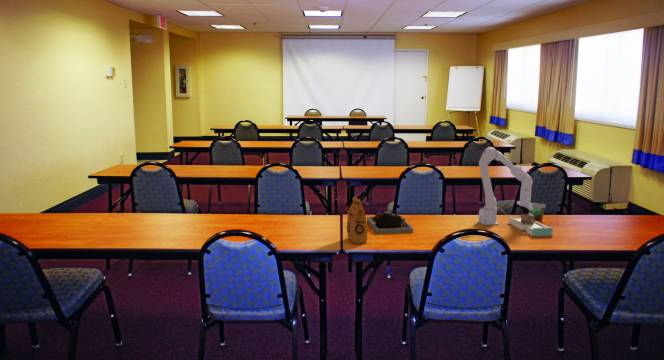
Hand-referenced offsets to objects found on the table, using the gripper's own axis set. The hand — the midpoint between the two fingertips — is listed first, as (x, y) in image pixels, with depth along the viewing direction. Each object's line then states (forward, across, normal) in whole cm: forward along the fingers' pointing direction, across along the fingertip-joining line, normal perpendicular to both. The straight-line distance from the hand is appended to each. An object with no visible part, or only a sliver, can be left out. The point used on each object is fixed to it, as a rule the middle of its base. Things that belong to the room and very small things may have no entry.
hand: (523, 219), depth 292 cm
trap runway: (+3, -7, 0) cm, 8 cm away
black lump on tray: (+4, +5, +78) cm, 78 cm away
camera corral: (+3, +7, +77) cm, 77 cm away
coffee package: (+4, -16, +100) cm, 102 cm away
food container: (+4, +13, -13) cm, 19 cm away
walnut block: (+1, -4, 0) cm, 4 cm away
